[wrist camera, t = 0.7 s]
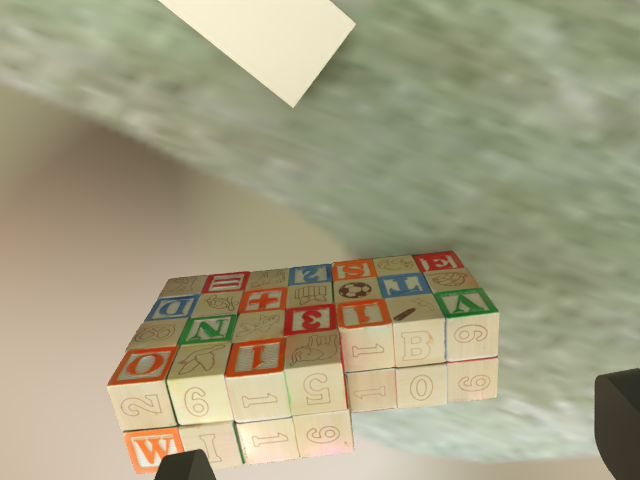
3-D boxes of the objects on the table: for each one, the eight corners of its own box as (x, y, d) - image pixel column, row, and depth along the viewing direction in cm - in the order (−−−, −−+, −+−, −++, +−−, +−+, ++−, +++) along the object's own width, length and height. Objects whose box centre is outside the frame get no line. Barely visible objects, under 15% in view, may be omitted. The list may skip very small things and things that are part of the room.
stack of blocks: (454, 247, 35) (526, 343, 24) (454, 320, 38) (519, 439, 26) (166, 278, 35) (101, 388, 24) (184, 348, 38) (132, 479, 26)
